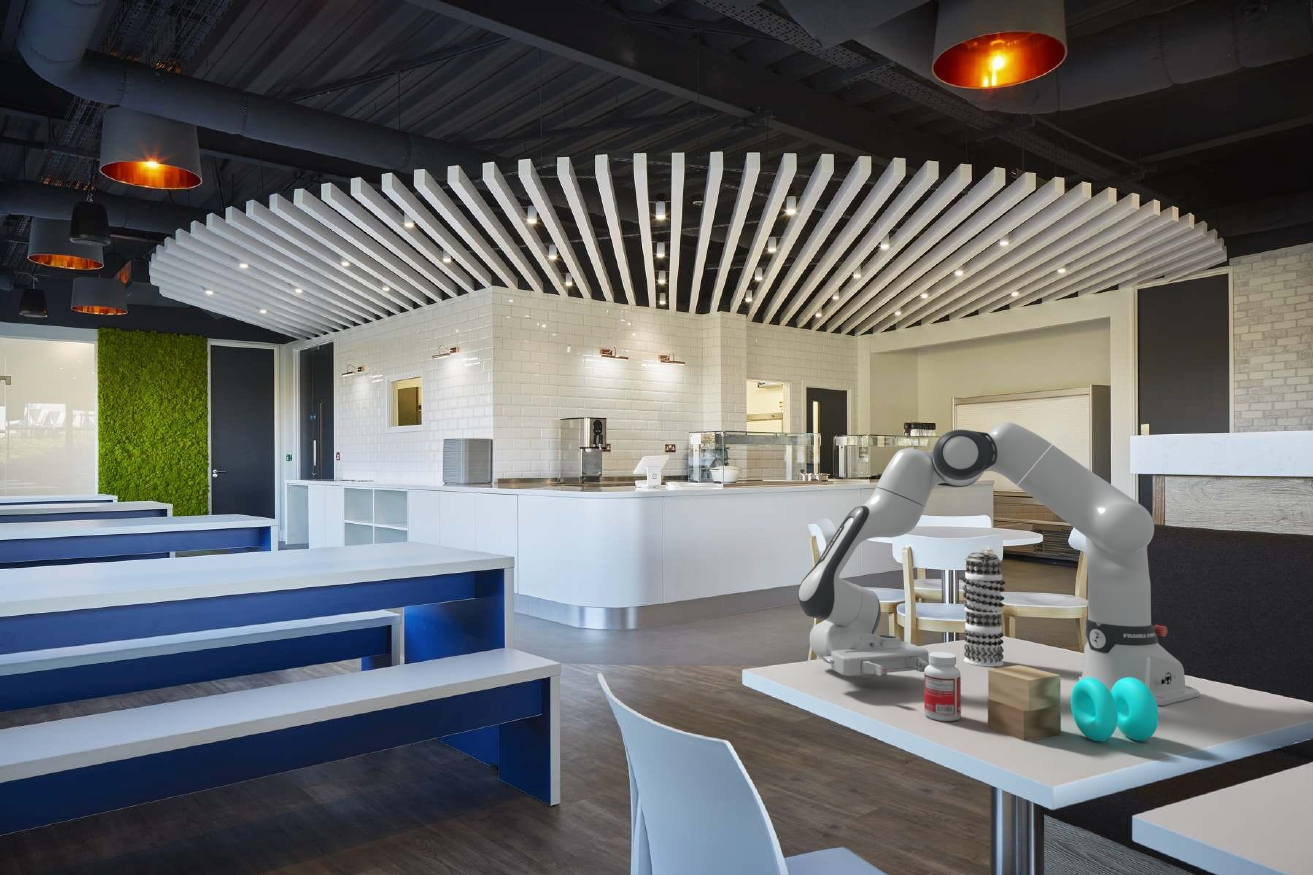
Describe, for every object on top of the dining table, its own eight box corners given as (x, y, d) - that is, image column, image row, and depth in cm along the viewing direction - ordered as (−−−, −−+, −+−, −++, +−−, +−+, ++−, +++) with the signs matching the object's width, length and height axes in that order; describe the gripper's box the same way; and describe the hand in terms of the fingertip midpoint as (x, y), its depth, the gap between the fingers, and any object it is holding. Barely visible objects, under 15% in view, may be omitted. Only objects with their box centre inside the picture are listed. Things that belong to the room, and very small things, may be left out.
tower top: (1019, 693, 147) (1019, 664, 147) (1060, 705, 140) (1060, 675, 140) (988, 698, 143) (988, 669, 143) (1028, 711, 136) (1028, 680, 136)
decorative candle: (984, 668, 185) (984, 556, 186) (953, 659, 194) (953, 552, 195) (1014, 665, 189) (1013, 554, 190) (982, 656, 198) (982, 551, 199)
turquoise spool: (1163, 749, 133) (1162, 685, 133) (1103, 749, 132) (1102, 686, 132) (1123, 729, 142) (1122, 670, 143) (1067, 730, 142) (1066, 671, 142)
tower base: (1023, 722, 146) (1023, 693, 146) (1060, 736, 139) (1060, 706, 139) (987, 727, 143) (987, 697, 143) (1023, 741, 136) (1023, 710, 136)
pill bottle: (942, 710, 152) (942, 649, 153) (968, 719, 147) (968, 656, 147) (916, 714, 150) (916, 652, 150) (942, 723, 144) (942, 659, 145)
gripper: (818, 641, 168) (858, 656, 155) (903, 635, 175) (947, 649, 162) (818, 673, 168) (858, 690, 155) (903, 665, 175) (947, 681, 162)
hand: (904, 669), depth 159 cm, fingers open, 8 cm apart
